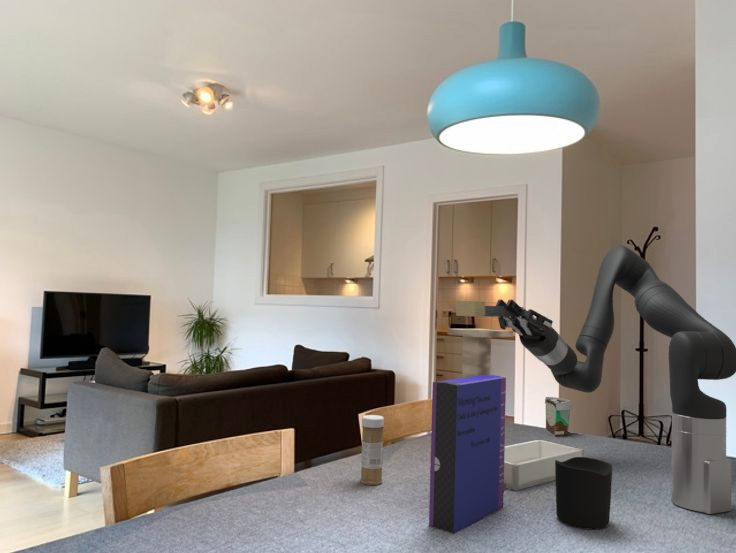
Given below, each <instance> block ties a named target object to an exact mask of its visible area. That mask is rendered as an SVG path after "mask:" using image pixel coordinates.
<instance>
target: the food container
mask: <svg viewBox="0 0 736 553" xmlns="http://www.w3.org/2000/svg"><path fill="white" fill-rule="evenodd" d="M544 404H545V431H546V432H547V433H548V434H550V435H551V436H553V437H554V438H564V437H567V436H568V435H569V424H570V411H571V410H572V409H573V404H572V402H571V400H569V399H567V398H561V397H554V396H545V399H544Z"/></svg>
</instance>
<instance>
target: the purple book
mask: <svg viewBox="0 0 736 553" xmlns="http://www.w3.org/2000/svg"><path fill="white" fill-rule="evenodd" d="M506 391H507V377H504V376H500V375H494V374H492V375H491V374H490V375H480V376H473V377H466V378H462V377H460V378H454V379H453V378H452V379H447V380H446V379H445V380H440V381H433V382H432V394H431V396H432V398H431V399H432V400H431V433H430V436H431V437H430V438H431V439H430V468H429V469H430V474H429V475H430V476H429V477H430V478H429V508H428V510H429V512H428V513H429V514H428V527H431V528H434V529H437V530H441V531H443V532H447V533H449V534H450V533H451V534H453V535H454V534H456V533H458V532H460V531H462V530H465V529H466V528H468V527H469V526H471V525H473V524H475V523H477V522H479V521H481V520H483V519H485V518H487V517H489V516H491V515H492V514H494V513H496V512H498V511H500V510H502V509H504V497H505V496H504V494H505V493H504V491H505V490H504V448H505V446H506V445H505V443H506V442H505V438H506V400H507V398H506V395H507V394H506V393H507V392H506Z"/></svg>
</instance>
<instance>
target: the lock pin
mask: <svg viewBox="0 0 736 553" xmlns="http://www.w3.org/2000/svg"><path fill="white" fill-rule="evenodd" d="M520 307H521V308H524V306H520ZM455 313H456V317H457V316H458V317H459V316H461V317H495V318H496V317H497V318H498V317H517V316H514V315H513V314H512V313H511V312H510V311H509V310H508V309H507V308H506V306H496V305H486V301H479V300H456V311H455Z"/></svg>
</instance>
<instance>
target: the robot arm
mask: <svg viewBox="0 0 736 553" xmlns="http://www.w3.org/2000/svg"><path fill="white" fill-rule="evenodd" d="M595 281H596V282H595V285H594V289H593V294H592V298H591V303H590V306H589V309H588V313H587V315H586V319H585V321H584V323H583V324H582V325H583V326H582V327H581V330H580V332H579V334H578V337H577V339H576V342H575V350H576V351H577V352H579V353H580V354H581V355H583V356H585V357H586V359H585V362H584V361H579V360H578V356H577V354H576V351H575V350H574V349H573V348H572V347H571V346H570V345H569V344H568V343H567V342H566V341H565V340H564V338H563V337H562V336H561V334H559V332H558V331H556V329H554V328H553V322H554V321H553V320H552V319H550V318H549V317H547V316H545V315H542V313H539V312H538V311H535V310H533V309H532V308H531V309H528V310H527V309H526V308H524V307H523V308H521V307H522V306H520V305H519V304H518V303H517V302H515V300H514V299H508V300H507V302H505V301H504V299H501V298H499V299H498V300H497V301H496V304H495V306H506V308H507V309H508V310H509V311H510V312H511V313H512V314H513V315H514V316H517V317H497V320H498V324H499V327H500V329H501V330H506V328H509V329H512V330H511V331H513V333H515V334H516V335H518V337H519V341H520V343H521V345H522V346H523V347H524V349H526V350H528V351H529V353H531V355H533V356H534V358H536V359H537V360H539V361H540V362H541V363H543V365H544V366H546V367H547V368H548V369H549V370H550V372H551V374H552V376H553V378H554V380H555V381H556V382H557V384H559V385H561V386H562V387H564V388H568V389H572V390H575V391H580V392H583V393H587V394H590V393H593V392H595V391H596V390H597V389H598V388H599V386H600V385H601V383H602V380H603V379H602V378H603V365H604V360H605V353H606V350H607V348H608V346H609V342H610V341H611V338H612V335H613V334H614V333H613V332H614V328H615V313H614V301H613V300H614V289H615V285H616V286H617V287H619V288H620V289H622V290H624V291H626V292H627V293H629V294H630V296H631V295H632V297H633V298H634V305H635V306H634V307H635V308H636V311H637V313H638V315H640V317H641V318H642V319H643V321H644V322H645V323H646V324H647V325H648V326H649V327H650V328H651V329H653V330H655V331H656V332H658V333H660V334H662V335H663V336H666V337H669V338H670V341H669V346H668V374H669V395H670V396H669V397H670V402H671V478H670V479H671V488H670V489H671V496H670V497H671V499H670V500H671V502H672V503H673V505H676V506H679V507H681V508H683V509H686V510H689V511H690V510H691V511H695V512H699V513H700V512H701V513H704V514H707V515H714V514H719V513H725V512H731V511H732V459H730V458H727V410H728V409H727V404H726V403H725V402H724V401H722V400H720V399H718V398H715V397H712V396H710V395H708V394H706V393H705V392H703V391H702V390H701V388H700V386H699V380H708V381H709V380H713V381H718V380H725V379H729V378H731V377H732V376H734V375H735V374H736V346H735V343H734V342H733V340H732V339H731V338H730V337H729V336H728V335H727V334H726V333H725V332H723V331H722V330H721V329H719V328H718V327H717V326H715V325H714V324H712V323H711V322H709V321H708V320H706V319H705V318H704V316H702V315H701V314H700V313H698V311H696V309H694V307H692V306H691V305H689V303H688V302H686V300H685V299H684V298H683V297H682V296H681V295H680V294H679V292H677V291H676V290H675V289H674V288H673V287H672V286H670V285H669V284H668V283H666V282H664V281H663V280H661V279H660V278H659V276H658V275H657V273H656V272H655V270H654V269H653V268H652V266H651V265H650V263H649V262H648V260H646V259H645V258H643V257H641V256H640V255H639V254H637V253H636V252H635V251H633V249H631V248H629V247H627V246H625V245H617V246H613V248H611V249H610V250H609V251H608V252H606V254H605V256H603V259H602V261H601V263H600V267H599V269H598V273H597V278H596V280H595Z"/></svg>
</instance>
